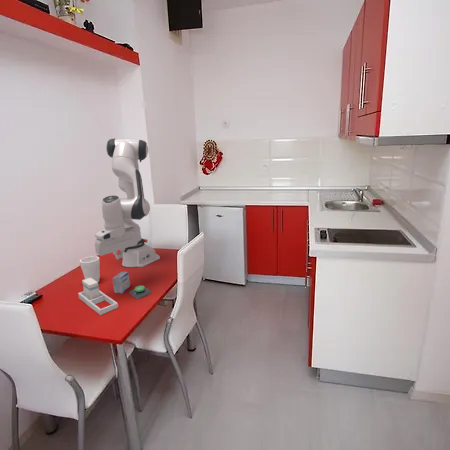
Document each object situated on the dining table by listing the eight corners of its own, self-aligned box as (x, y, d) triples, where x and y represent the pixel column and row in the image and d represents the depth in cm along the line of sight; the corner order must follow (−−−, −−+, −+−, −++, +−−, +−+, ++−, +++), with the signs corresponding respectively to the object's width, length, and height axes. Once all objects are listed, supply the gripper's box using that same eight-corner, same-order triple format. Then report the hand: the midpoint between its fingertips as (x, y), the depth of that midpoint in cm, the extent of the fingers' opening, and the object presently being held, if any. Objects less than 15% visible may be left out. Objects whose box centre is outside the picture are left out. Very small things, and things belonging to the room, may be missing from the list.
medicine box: (122, 295, 155) (120, 278, 153) (114, 294, 156) (112, 278, 154) (130, 287, 163) (128, 271, 160) (122, 287, 164) (120, 271, 161)
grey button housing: (143, 291, 158) (142, 285, 157) (151, 296, 153) (150, 290, 152) (130, 296, 153) (129, 291, 152) (138, 301, 148) (137, 295, 148)
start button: (142, 292, 156) (141, 284, 155) (147, 295, 153) (146, 287, 152) (134, 295, 153) (133, 287, 152) (138, 298, 150) (137, 290, 149)
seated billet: (93, 294, 155) (90, 277, 153) (100, 300, 150) (98, 282, 147) (84, 297, 153) (81, 280, 150) (92, 303, 147) (89, 285, 145)
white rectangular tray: (95, 292, 158) (94, 287, 158) (118, 309, 142) (117, 303, 141) (79, 299, 153) (78, 293, 152) (100, 316, 137) (99, 310, 136)
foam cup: (83, 287, 164) (79, 264, 161) (83, 281, 172) (79, 258, 169) (103, 283, 168) (99, 260, 165) (101, 277, 176) (98, 254, 173)
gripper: (131, 224, 160) (135, 250, 164) (91, 235, 146) (96, 263, 150) (138, 226, 156) (141, 253, 160) (97, 238, 142) (102, 266, 146)
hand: (119, 258), depth 155 cm, fingers closed
